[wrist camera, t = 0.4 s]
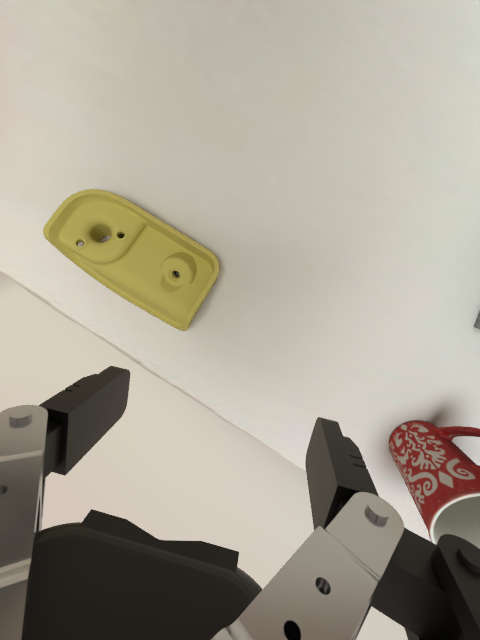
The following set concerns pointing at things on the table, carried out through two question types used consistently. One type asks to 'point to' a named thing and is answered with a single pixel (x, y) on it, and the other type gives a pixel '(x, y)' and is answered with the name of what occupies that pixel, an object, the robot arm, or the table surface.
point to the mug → (440, 478)
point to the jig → (477, 322)
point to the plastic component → (134, 254)
